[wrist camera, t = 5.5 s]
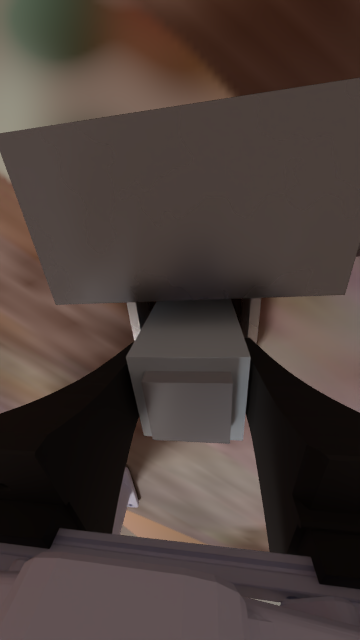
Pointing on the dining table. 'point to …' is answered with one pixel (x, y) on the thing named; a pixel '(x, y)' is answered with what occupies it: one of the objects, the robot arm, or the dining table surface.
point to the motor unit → (196, 200)
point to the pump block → (191, 372)
